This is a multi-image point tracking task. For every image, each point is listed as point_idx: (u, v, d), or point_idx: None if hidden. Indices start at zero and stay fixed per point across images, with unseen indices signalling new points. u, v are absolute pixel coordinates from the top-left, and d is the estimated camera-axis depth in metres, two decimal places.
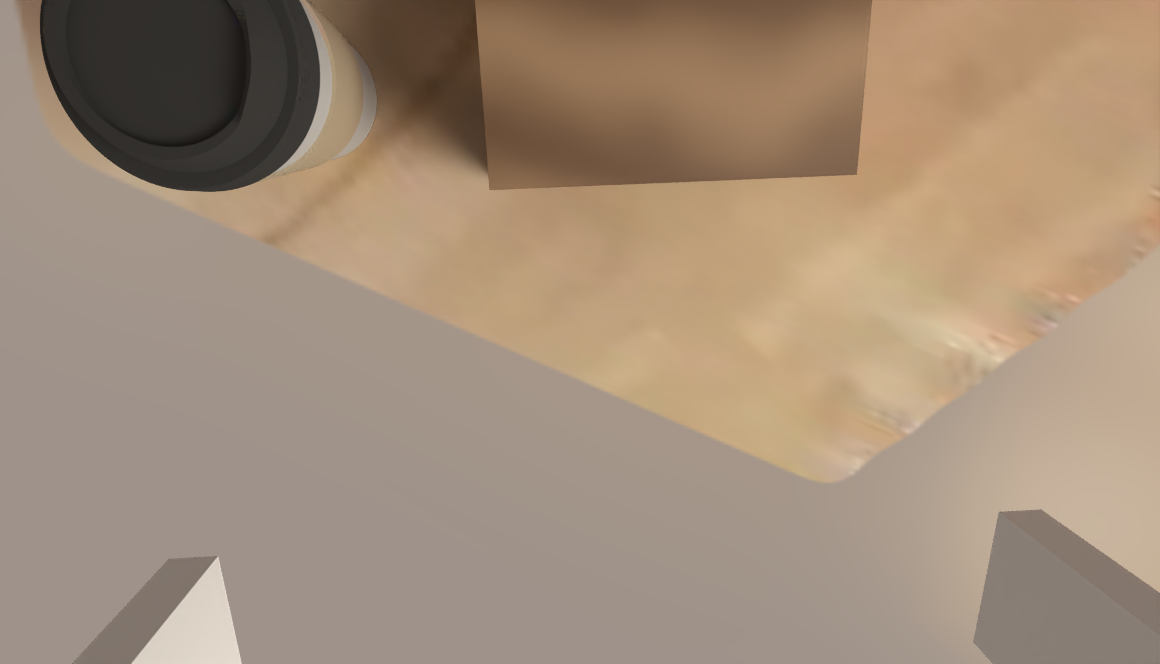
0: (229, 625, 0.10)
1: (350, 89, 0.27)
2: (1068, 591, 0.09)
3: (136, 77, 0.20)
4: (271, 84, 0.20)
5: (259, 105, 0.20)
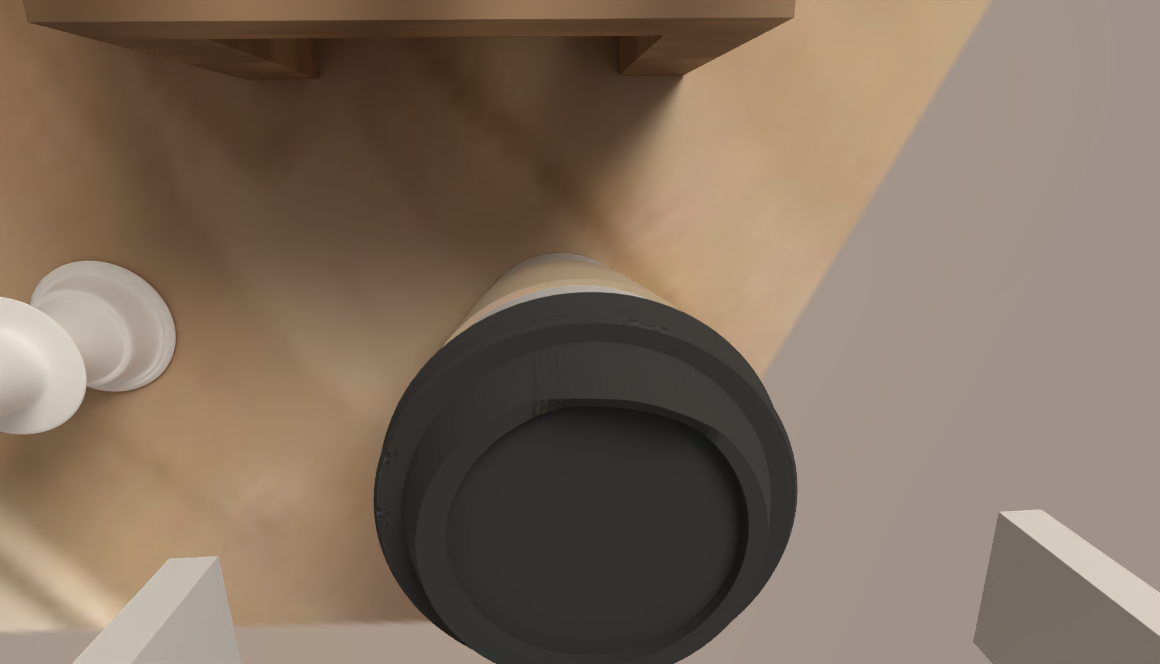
0: (229, 626, 0.10)
1: (587, 269, 0.17)
2: (1068, 591, 0.09)
3: (632, 572, 0.12)
4: (649, 371, 0.11)
5: (688, 395, 0.11)
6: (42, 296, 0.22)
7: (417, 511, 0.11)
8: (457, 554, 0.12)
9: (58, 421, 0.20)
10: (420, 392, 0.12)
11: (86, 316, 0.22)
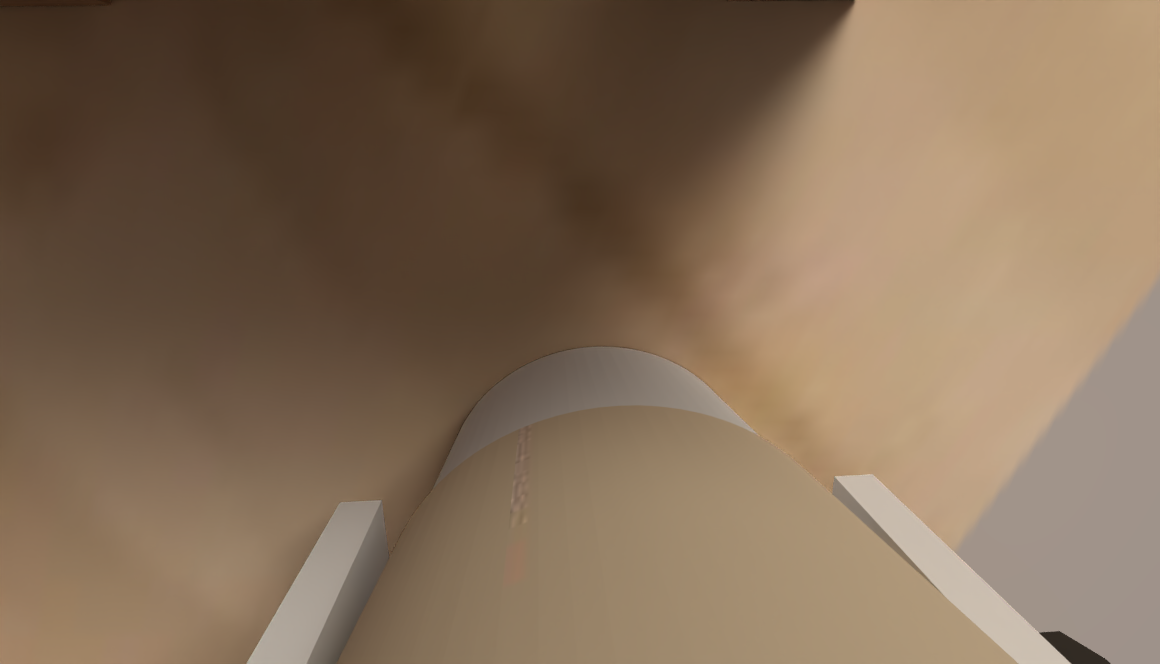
0: None
1: (722, 506, 0.06)
2: None
3: None
4: None
5: None
6: None
7: None
8: None
9: None
10: None
11: None
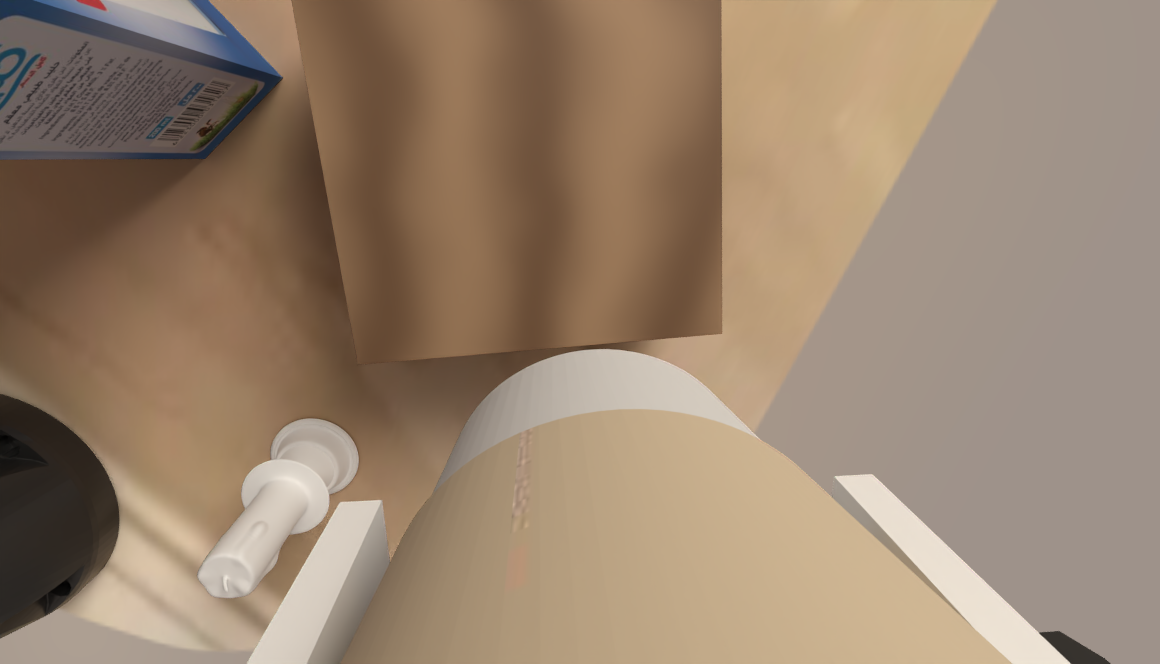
0: (387, 562, 0.11)
1: (723, 511, 0.06)
2: None
3: None
4: None
5: None
6: (287, 445, 0.36)
7: None
8: None
9: (312, 526, 0.34)
10: None
11: (315, 458, 0.36)
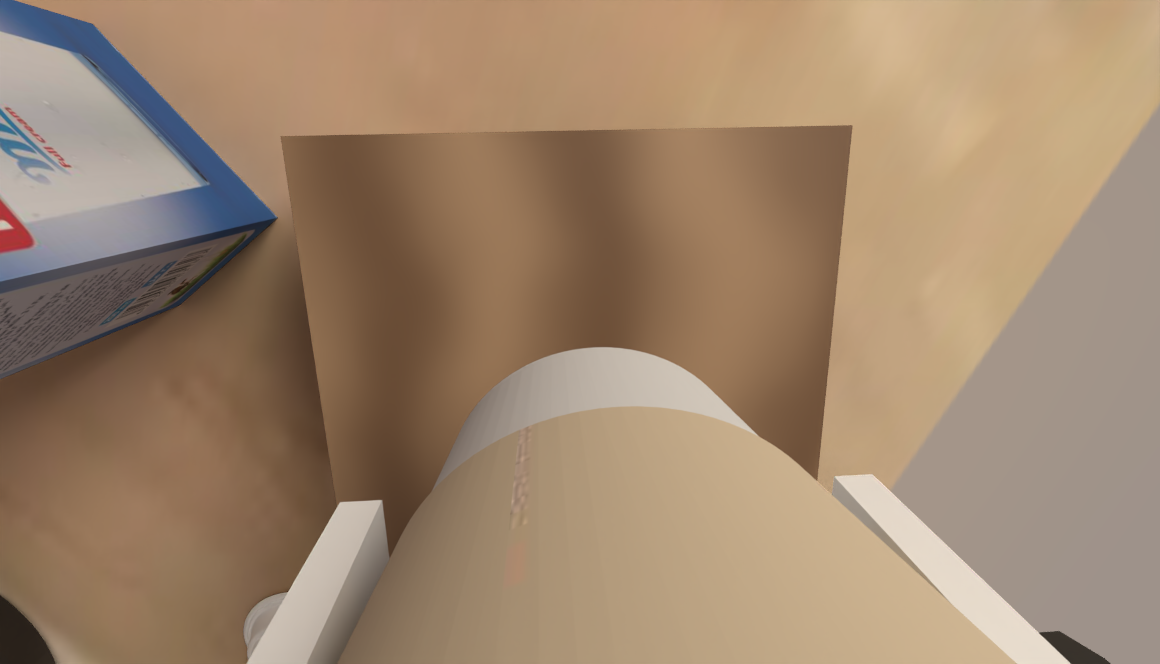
0: (386, 561, 0.11)
1: (723, 507, 0.06)
2: None
3: None
4: None
5: None
6: (263, 630, 0.31)
7: None
8: None
9: None
10: None
11: None
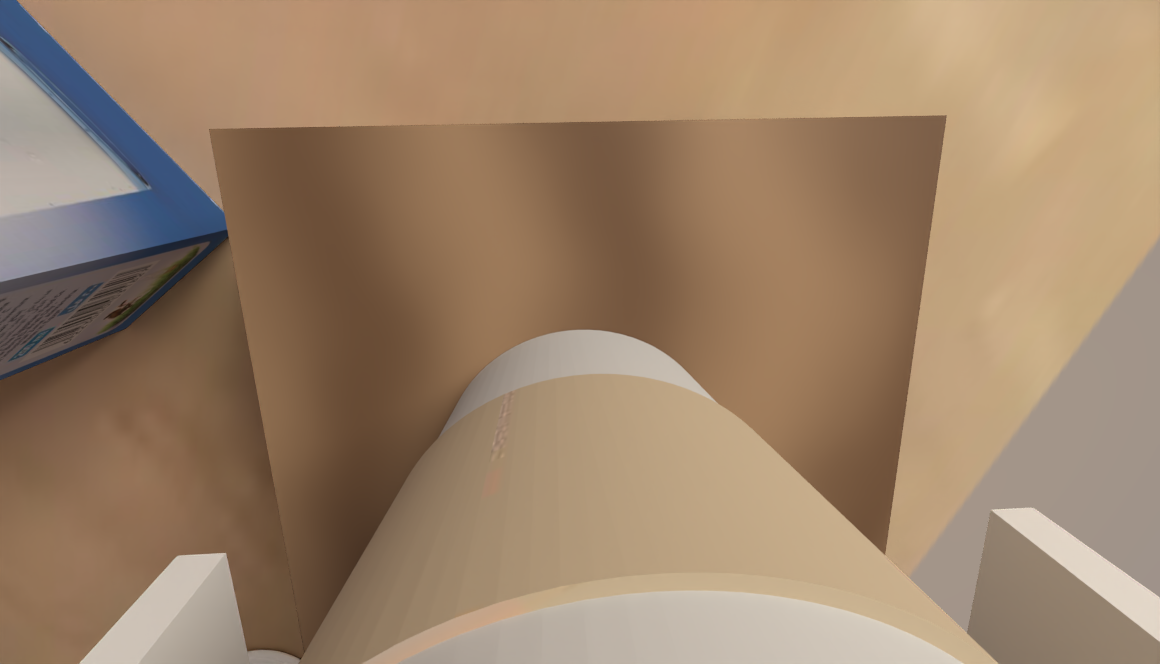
0: (237, 621, 0.10)
1: (661, 442, 0.07)
2: (1058, 587, 0.09)
3: None
4: None
5: None
6: None
7: None
8: None
9: None
10: None
11: None
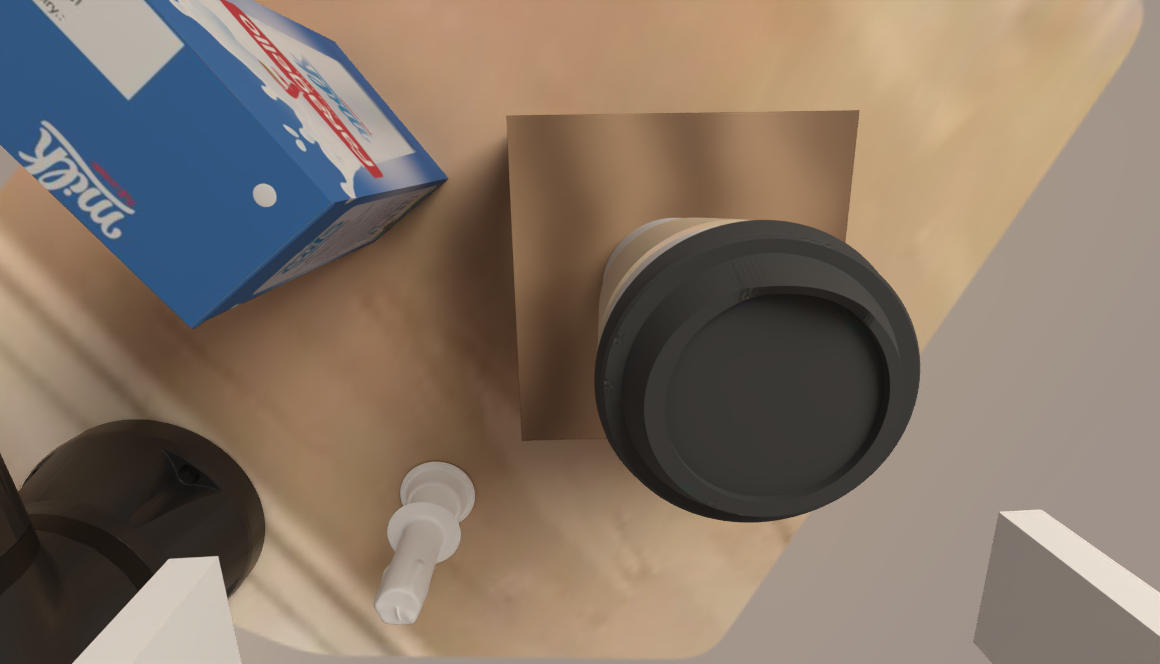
0: (230, 626, 0.10)
1: None
2: (1068, 591, 0.09)
3: (796, 430, 0.16)
4: (821, 272, 0.15)
5: (851, 289, 0.15)
6: (419, 485, 0.41)
7: (647, 372, 0.15)
8: (669, 410, 0.16)
9: (443, 559, 0.39)
10: (644, 289, 0.16)
11: (444, 498, 0.41)
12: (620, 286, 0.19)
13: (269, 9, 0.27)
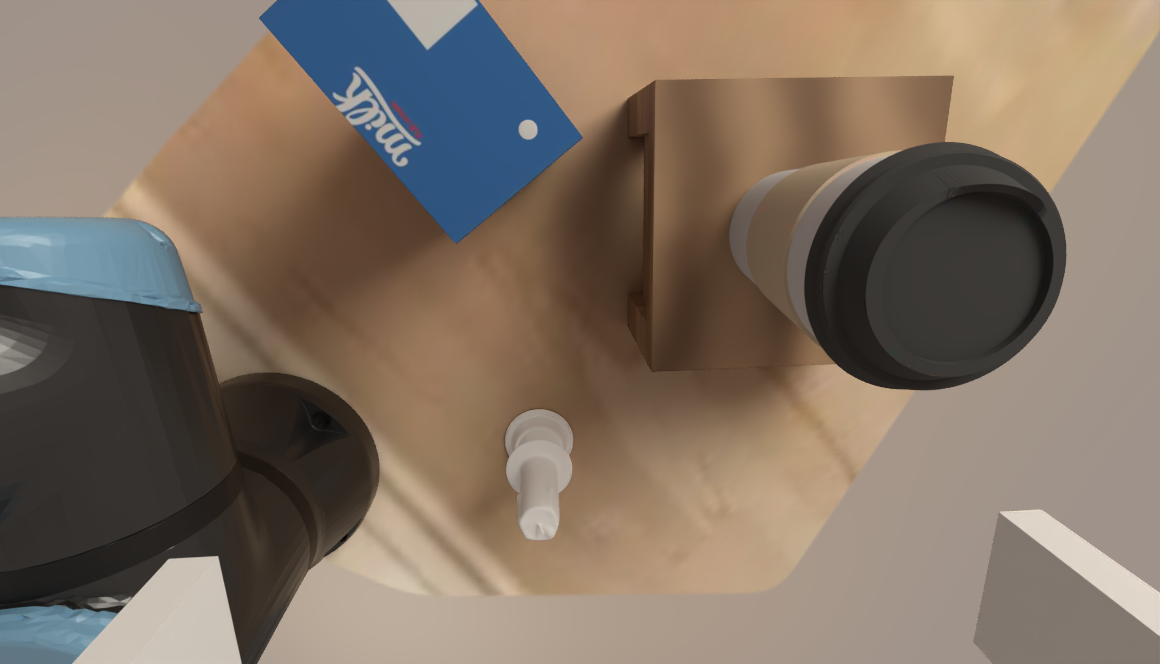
0: (230, 625, 0.10)
1: None
2: (1068, 591, 0.09)
3: (976, 306, 0.20)
4: (1004, 177, 0.19)
5: (1028, 190, 0.19)
6: (527, 430, 0.45)
7: (870, 257, 0.20)
8: (881, 289, 0.20)
9: None
10: (862, 194, 0.20)
11: (551, 440, 0.45)
12: (806, 206, 0.23)
13: None
